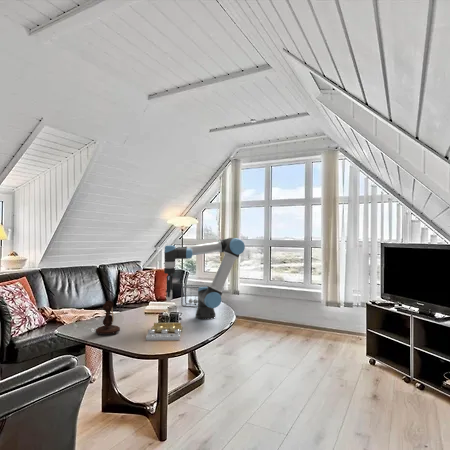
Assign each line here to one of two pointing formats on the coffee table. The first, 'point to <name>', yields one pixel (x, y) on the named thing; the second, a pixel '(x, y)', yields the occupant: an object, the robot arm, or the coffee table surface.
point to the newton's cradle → (190, 295)
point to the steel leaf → (163, 335)
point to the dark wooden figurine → (108, 321)
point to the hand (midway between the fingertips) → (169, 300)
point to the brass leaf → (167, 327)
